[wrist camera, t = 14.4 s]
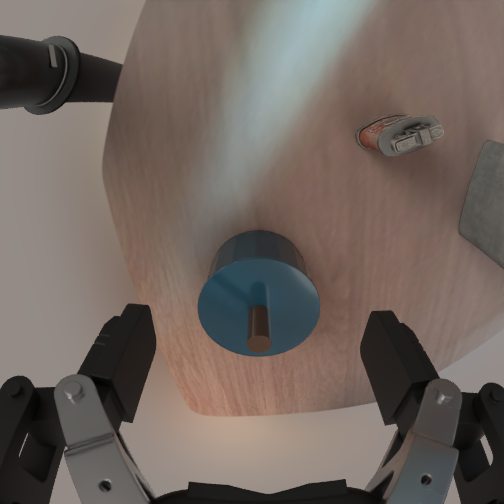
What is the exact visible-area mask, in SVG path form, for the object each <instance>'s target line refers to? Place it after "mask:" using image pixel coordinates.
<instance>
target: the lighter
mask: <svg viewBox="0 0 504 504" xmlns="http://www.w3.org/2000/svg"><path fill="white" fill-rule="evenodd" d="M443 134H444V132H443V128H442V127H441V126H440V123H439V121H438V120H437V118H435V117H434V116H429V115H425V116H408V115H406V114H393V115H388V116H384V117H380V118H378V119H375V120H373V121H371V122H369V123H367V124H366V125H364V126H362V127H361V128H359V129H358V130H357V132H356V141H357V143H358V144H359V145H360V146H361V147H363V148H366V149H370V148H371V149H374V150H377V151H380V152H381V153H382V154H384V155H386V156H397V155H403V154H407V153H410V152H414V151H417V150H419V149H421V148H423V147H425V146H427V145H429V144H432V142H433V141H435V140H436V139H437V138H439V137H442V136H443Z"/></svg>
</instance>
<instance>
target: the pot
mask: <svg viewBox="0 0 504 504" xmlns="http://www.w3.org/2000/svg"><path fill="white" fill-rule="evenodd" d="M255 256H264V257H272V258H277V259H281V260H284V261H287V262H289V263H291V264H293V265H295V266H296V267H298V268H299V269H301V270H302V271H303V272H304V273H305V274H307V271H306V267H305V264H304V260H303V257H302V256H301V254H300V253H299V251H298V250H297V248H296V247H295V246H294V245H293V244H292V243H291V242H290V241H289V240H287V239H286V238H284V237H283V236H281V235H279V234H276V233H273V232H269V231H261V230H256V231H248V232H244V233H240V234H238V235H236V236H234V237H232V238H230V239H229V240H228V241H226V242H225V243H224V244H223V245H222V246H221V247H220V249H219V250H218V252H217V253H216V255H215V257H214V259H213V261H212V264H211V268H210V271H209V275H208V278H209V277H210V276H211V275H212V274H213V273H214V272H215V271H216V270H218V269H219V268H220V267H222V266H224V265H226V264H227V263H230V262H232V261H234V260H238V259H241V258H246V257H255ZM307 276H308V274H307ZM208 278H207V279H208Z"/></svg>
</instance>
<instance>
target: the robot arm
mask: <svg viewBox="0 0 504 504" xmlns="http://www.w3.org/2000/svg"><path fill="white" fill-rule="evenodd" d="M68 72H69V57H68V54H67V52H66V50H65V49H64V48H63V47H62V46H60V45H57V44H52V43H50V44H49V43H45V42H40V41H35V40H30V39H24V38H17V37H11V36H3V35H0V109H8V108H17V107H28V106H44V105H46V104H48V103H50V102H51V101H53V100H54V99H55V98H56V97H57V96H58V94H59V93H60V92H61V90H62V89H63V87H64V85H65V82H66V80H67V77H68ZM155 351H156V335H155V330H154V326H153V320H152V315H151V310H150V307H149V306H148V305H141V304H128V305H127V306H126V308H125V309H124V311H123V313H122V314H121V316H114V317H113V318H111V319H110V320H109V321H108V322H107V323H105V324H104V326H103V328H102V330H101V331H100V333H99V336H98V337H97V338H96V340H95V342H94V344H93V345H92V347H91V349H90V351H89V352H88V354H87V356H86V358H85V360H84V362H83V363H82V365H81V367H80V369H79V371H78V373H77V374H75V375H70V376H67V377H65V378H63V379H62V380H61V381H60V382H59V383H58V384H57V386H56V387H46V388H45V387H44V388H35V387H34V385H33V384H32V382H31V381H30V380H29V379H28V378H27V377H24V376H15V377H12V378H10V379H8V380H7V381H6V382H5V383H4V384H3V385H2V387H1V389H0V504H49V502H50V497H51V493H52V490H53V486H54V482H55V479H56V475H57V471H58V468H59V465H60V461H61V458H62V455H63V451H64V448H65V446H67V447H68V450H65V451H64V457H65V460H66V464H67V466H68V469H69V472H70V475H71V478H72V480H73V483H74V486H75V488H76V490H77V493H78V496H79V498H80V500H81V503H82V504H444V502H445V499H446V496H447V493H448V490H449V487H450V484H451V481H452V477H453V475H454V479H455V482H456V486H457V490H458V493H459V497H460V501H461V504H504V388H503V387H502V386H500V385H498V384H496V383H487V384H485V385H484V386H483V387H482V388H481V390H480V391H479V392H478V393H466V392H461V391H460V389H459V388H458V387H457V386H456V385H455V384H454V383H452V382H451V381H449V380H447V379H440V377H439V376H438V374H437V372H436V370H435V368H434V366H433V365H432V363H431V361H430V359H429V358H428V356H427V354H426V352H425V351H423V347H422V345H421V344H420V343H419V340H418V339H417V337H416V335H415V334H414V332H413V331H412V330H411V329H410V328H409V327H407V326H406V325H405V324H404V323H400V322H399V321H398V319H397V317H396V316H395V314H394V312H393V311H391V310H388V311H372V312H371V314H370V316H369V319H368V322H367V326H366V329H365V332H364V335H363V338H362V341H361V345H360V354H361V358H362V361H363V364H364V367H365V369H366V372H367V375H368V378H369V380H370V383H371V386H372V389H373V392H374V394H375V397H376V400H377V403H378V406H379V409H380V412H381V415H382V418H383V421H384V424H385V425H391V424H397V427H398V429H397V431H396V432H395V434H394V437H393V439H392V441H391V443H390V445H389V447H388V450H387V452H386V454H385V456H384V458H383V460H382V462H381V464H380V466H379V468H378V470H377V472H376V474H375V475H374V477H373V478H372V479H371V481H370V482H369V483H368V485H367V486H366V488H365V489H364V490H361V489H357V488H352V487H347V485H346V480H345V479H342V480H336V481H328V482H319V483H309V484H306V485H303V486H299V487H296V488H292V489H289V490H285V491H281V492H278V493H273V494H264V493H259V492H254V491H250V490H246V489H242V488H237V487H233V486H230V485H220V484H207V483H197V482H189V485H188V489H186V490H179V491H174V492H171V493H167V494H164V495H162V496H160V497H157V496H156V495H155V493H154V492H153V490H152V488H151V487H150V485H149V484H148V482H147V481H146V479H145V478H144V476H143V475H142V473H141V471H140V470H139V468H138V466H137V464H136V462H135V460H134V458H133V457H132V455H131V453H130V451H129V449H128V447H127V445H126V443H125V441H124V439H123V437H122V435H121V433H120V431H119V428H120V425H121V422H122V421H124V422H129V423H133V420H134V416H135V413H136V410H137V407H138V403H139V400H140V397H141V394H142V391H143V387H144V384H145V382H146V379H147V375H148V372H149V370H150V367H151V363H152V361H153V357H154V354H155ZM27 433H28V436H27V439H26V441H25V444H24V446H23V449H22V452H21V455H20V457H19V453H20V450H21V448H22V445H23V442H24V439H25V437H26V435H27ZM484 435H485V436H486V438H487V440H488V443H489V446H490V448H491V451H492V454H493V462H492V464H491V466H490V465H489V462H488V459H487V456H486V454H485V451H484V448H483V446H482V443H481V441H480V439H481V438H482V437H483V436H484Z"/></svg>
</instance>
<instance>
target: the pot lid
mask: <svg viewBox="0 0 504 504" xmlns="http://www.w3.org/2000/svg"><path fill="white" fill-rule="evenodd" d="M319 314H320V300H319V295H318V292H317V290H316V287H315V285H314V284H313V282H312V280H311V279H310V278H309V277H308V276H307V274H305V273H304V272H303V271H302V270H301V269H299V268H298V267H296V266H295V265H293V264H291V263H289V262H287V261H284V260H281V259H277V258H272V257H264V256H255V257H246V258H241V259H238V260H234V261H232V262H230V263H227V264H226V265H224V266H222V267H220V268H219V269H218V270H216V271H215V272H214V273H213V274H212V275H211V276H210V277H209V278H208V279H207V281H206V282H205V284H204V285H203V287H202V289H201V292H200V296H199V299H198V315H199V319H200V322H201V325H202V327H203V328H204V330H205V331H206V333H207V334H208V335H209V337H210V338H211V339H212V340H213V341H215V342H216V343H217V344H219V345H220V346H222V347H223V348H225V349H227V350H229V351H232V352H234V353H237V354H241V355H246V356H255V357H262V356H272V355H276V354H280V353H283V352H286V351H288V350H290V349H292V348H294V347H296V346H297V345H299V344H300V343H301V342H303V341H304V340H305V339H306V338H307V337H308V336H309V335H310V334H311V332H312V331H313V329H314V328H315V326H316V324H317V321H318V318H319Z"/></svg>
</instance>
